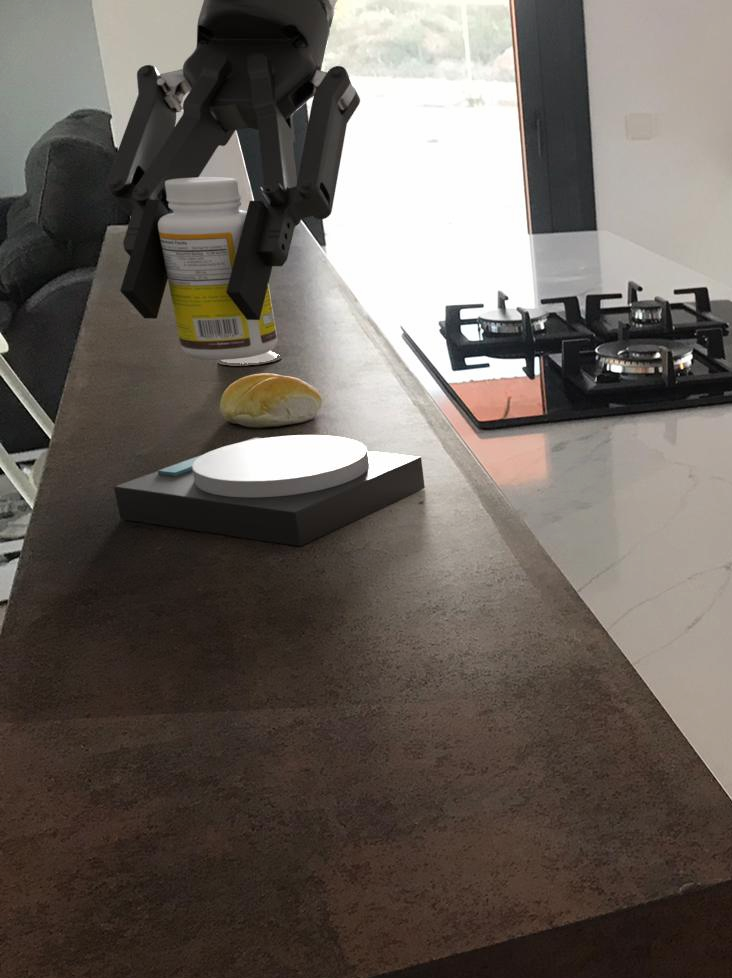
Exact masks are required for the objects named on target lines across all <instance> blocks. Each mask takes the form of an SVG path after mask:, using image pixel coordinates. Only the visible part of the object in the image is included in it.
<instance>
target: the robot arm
mask: <svg viewBox="0 0 732 978" xmlns="http://www.w3.org/2000/svg"><path fill="white" fill-rule="evenodd" d="M337 3H338V0H203V2H202V5H201V9H200V11H199V16H198V19H197V23H196V24H197V25H196V46H195V49H194V50H193V52H192V53H191V55H189V56H188V57H187V59H186V60H185V61H184V62H183V65H182V68H181V69H176V70H172V71H168V72H163V73H159V71H158V70H157V68H156V67H155V66H154V65H151V64H146V65H142V66H141V67H139V68H138V70H137V71H136V81H137V92H138V95H137V97H136V100H135V103H134V105H133V107H132V111H131V112H130V113H131V114H130V117H129V119H128V121H127V125H126V127H125V129H124V133H123V135H122V138H121V141H120V144H119V147H118V149H117V152H116V155H115V157H114V160H113V162H112V165H111V169H110V170H109V173H108V177H107V178H106V182H105V187H106V189H107V191H108V192H109V193H110V194H111V196H112V197H113V198H114V200H115V201H116V202H117V203H118V205H120V207H121V208H122V209H123V211H124V212H125V213H126V214H127V215H128V217H130V218H129V221H128V225H127V229H126V232H125V235H124V239H123V241H122V245H123V248H124V249H123V250H124V251H125V253H127V255H128V256H129V260H128V263H127V266H126V270H125V274H124V277H123V280H122V283H121V287H120V293H121V294H122V295H123V296H124V297H125V298H126V300H127V301H128V302H129V304H131V305H132V306H133V308H135V309H136V311H137V312H138V313H139V314H140V315H141V316H142V318H144V319H158V315H159V312H160V308H161V304H162V302H163V297H164V294H165V290H166V287H167V283H168V277H167V271H166V266H165V261H164V256H163V250H162V246H161V240H160V235H159V230H158V222H159V220H160V218H161V217H163V216H165V215H167V214H171V213H173V210H172V209H170V208H169V206H168V203H169V202H168V201H167V200H166V199H167V195H166V188H165V181H167V180H171V179H180V178H198V177H199V176H200V174H201V173H202V171H203V169H204V168H205V166H206V165H207V163H208V162H209V160H210V158H211V157H212V155H213V154H214V152H215V150H216V149H217V147H218V146H220V145H221V146H225V145H226V144H227V143H228V141H229V140H230V138H231V136H232V135H233V133H234V132H235V130H236V131H240V130H245V129H252V130H257V131H258V141H259V150H260V161H261V173H262V183H263V187H262V186H259V187H258V188H259V191H260V192H261V193H262V195H263V196H264V198H265V200H266V201H267V204H265V202H263V200H254V201H250V202H249V206H248V210H247V214H246V218H245V221H244V225H243V229H242V233H241V237H240V241H239V245H238V249H237V253H236V256H235V260H234V264H233V268H232V272H231V276H230V280H229V284H228V287H227V291H226V293H227V294H228V295H229V297H230V298H231V299H232V301H233V302H234V303H235V305H236V306H237V307H238V309H239V310H240V311H241V312H242V314H243V315H244V316H245V318H246V319H247V320H260V316H261V312H262V308H263V303H264V299H265V295H266V291H267V287H268V284H269V283H270V278H271V275H272V270H273V267H283V266H284V264H285V263H286V262H287V260H288V257H289V253H290V249H291V244H292V240H293V237H294V232H295V228H296V227H297V226H298V225H299V224H300V223H301V220H304V219H306V218H310V217H313V218H314V219H316V220H319V221H320V220H325V219H327V218H329V216H330V215H332V212H333V206H334V200H335V195H336V189H337V184H338V183H337V182H338V179H339V172H340V166H341V162H342V161H341V160H342V154H343V149H344V144H345V137H346V132H347V126H348V123H349V121H350V119H351V118H352V116H353V115H354V113H355V112H356V110H357V108H358V107H359V105H360V103H361V98H360V96H359V94H358V92H357V90H356V87H355V85H354V83H353V81H352V80H351V77H350V75H349V74H348V72H347V69H346V68H345V67H344V66H342V65H335V66H333V67H331V68H330V69H328V71H324V70H322V68H323V64H324V61H325V55H326V51H327V48H328V42H329V38H330V35H331V27H332V24H333V20H334V16H335V12H336V9H337ZM186 94H187V95H186ZM185 96H186V97H185ZM184 97H185V98H184ZM311 99H312V101H311V107H310V111H309V117H308V123H307V128H306V133H305V138H304V144H303V149H302V154H301V159H300V163H299V164H300V165H299V169H298V175H297V168H296V159H295V150H294V143H296V136H295V128H294V117H293V116H294V114H295V113H296V112H297V111H298V110H299V109H301V108H302V107H303V106H304V105H305V104H307V103H308V102H309V101H310V100H311ZM182 111H183V113H182V115H181V117H180V118H179V120H178V121H177V113H181V112H182Z"/></svg>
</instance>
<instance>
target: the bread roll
mask: <svg viewBox="0 0 732 978" xmlns="http://www.w3.org/2000/svg"><path fill="white" fill-rule="evenodd" d="M322 404H323V398H322V396H321V394H320V392H319V391H318V389H316V388H315V387H314V386H312V385H311V384H309V383H308V382H305V381H303V380H302V379H300V378H298V377H294V376H288V375H281V374H277V373H269V372H268V373H255V374H250V375H246V376H244V377H241V378H239V379H237V380H235V381H233V382H232V383H231V384H229V385H228V387H227V388H226V389H225V390H224V392H223V393H222V395H221V398H220V403H219V410H220V414H221V416H222V418H223V419H224V420H225V421H227V422H230V423H232V424H234V425H239V426H243V427H246V428H255V429H265V428H278V427H284V426H285V427H286V426H289V425H290V426H291V425H297V424H301V423H305V422H307V421H310V420H312V419H314V418H315V417H316V416H317V414H318V413H319V411H320V409H321V408H322Z"/></svg>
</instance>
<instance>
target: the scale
mask: <svg viewBox="0 0 732 978" xmlns="http://www.w3.org/2000/svg"><path fill="white" fill-rule="evenodd" d="M422 460H423V459H422V457H421V456H415V455H408V454H406V455H405V454H398V453H390V452H380V451H374V450H368V447H367V446H366V445H365V444H363V442H360V441H358V440H355V439H352V438H348V437H344V436H335V435H325V434H323V435H322V434H295V435H280V436H271V437H264V438H263V437H252V438H249V439H246V440H243V441H240V442H236V443H232V444H229V445H228V444H227V445H225V446H220V447H219V448H216V449H213V450H210V451H208V452H205V453H204V454H201V455H199V456H195V457H193V458H189V459H186V460H184V461H181V462H177V463H175V464H172V465H170V466H166V467H164V468H161V469H158V470H157V471H155V472H152V473H149V474H145V475H142V476H140V477H137V478H135V479H131V480H129V481H126V482H123V483H119V484H117V485H114V486H113V490H114V495H115V500H116V504H117V510H118V514H119V519H120V520H122V521H129V522H135V523H143V524H150V525H154V526H155V525H156V526H162V527H169V528H176V529H181V530H182V529H183V530H189V531H195V532H203V533H208V534H215V535H221V536H228V537H236V538H242V539H248V540H254V541H262V542H267V543H274V544H282V545H287V546H295V547H302V546H304V545H306V544H309V543H311V542H313V541H315V540H317V539H319V538H321V537H323V536H325V535H328V534H330V533H332V532H334V531H336V530H338V529H340V528H343V527H345V526H347V525H349V524H351V523H353V522H355V521H357V520H359V519H362V518H364V517H366V516H369V515H370V514H372V513H374V512H376V511H378V510H380V509H383V508H386V507H387V506H389V505H392V504H393V503H395V502H397V501H399V500H402V499H404V498H406V497H408V496H410V495H413V494H415V493H417V492H418V491H421V490H423V489H425V488H426V487H425V478H424V477H425V476H424V471H423V461H422Z"/></svg>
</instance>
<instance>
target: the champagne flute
mask: <svg viewBox="0 0 732 978" xmlns="http://www.w3.org/2000/svg"><path fill="white" fill-rule="evenodd" d="M237 131H238V130H235V132H234V133H233V135H232V136H231V138H230V140H229V141H228V143H227V144H226V145H225V146H221V145H220V146H218V147H217V149H216V150H215V152H214V154H213V155H212V157H211V158H210V160H209V162H208V163H207V165H206V166H205V168H204V169H203V171H202V173H201V174H200V176H199V177H221V178H234V179H236V180H237V182H238V187H239V193H240V196H241V199H240V201H241V203H242V205H241V206H240V207H239V210H242V211H247V210H248V206H249V202H250V201H255V199H254V195H253V190H252V186H251V182H250V179H249V175H248V170H247V168H246V167H247V166H246V163H245V159H244V154H243V150H242V147H241V143H240V138H239V135H238V132H237ZM199 177H198V178H199ZM278 355H279V354H277V353H276V352H274V351H272V350H271V351H269V352H266V353H264V354H260V355H257V356H252V357H246V358H238V359H226V360H221V361H223V362H227V363H240V364H241V363H242V364H244V363H247V364H248V363H259V362H266V361H270V360H273V359H275V358H277V356H278Z"/></svg>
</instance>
